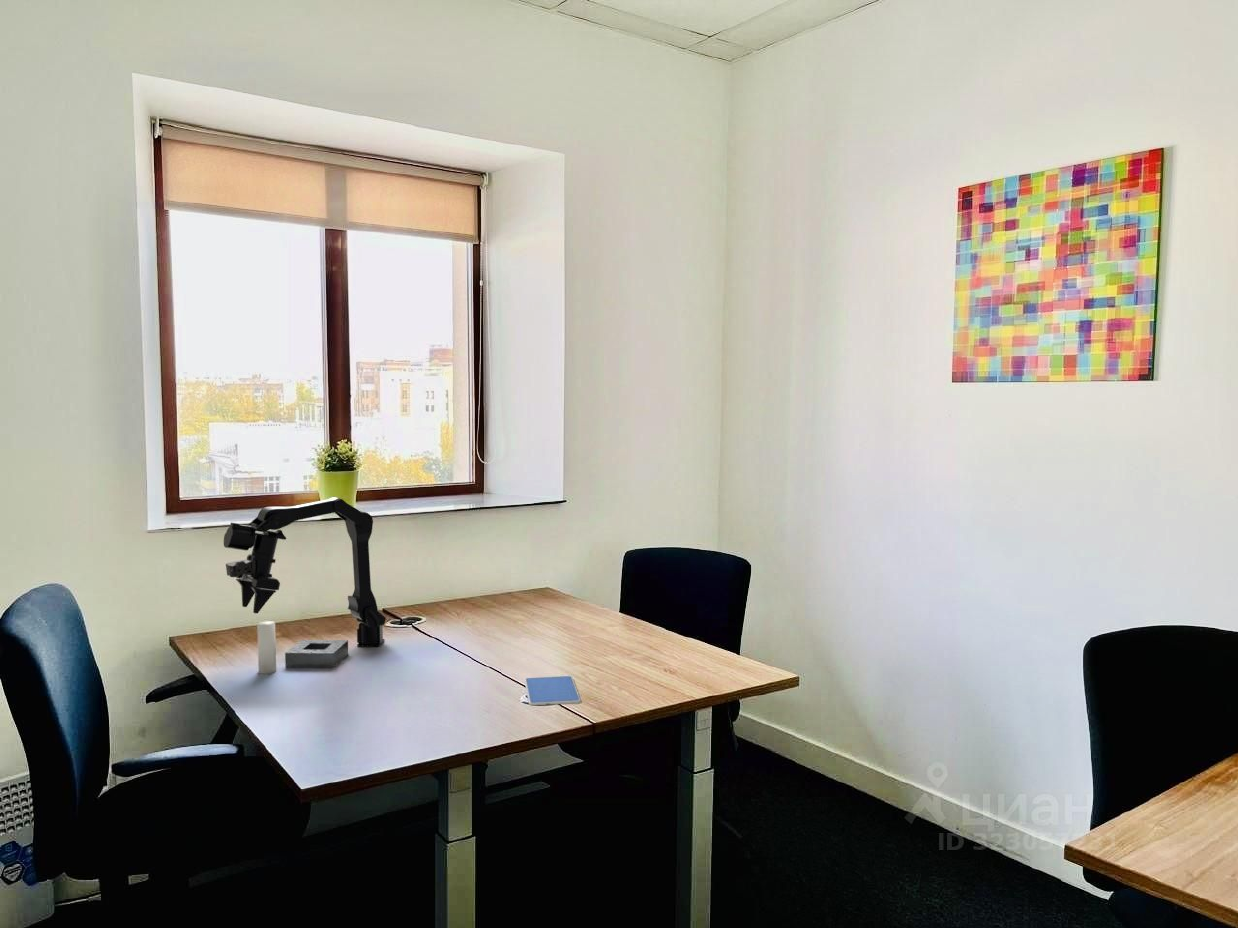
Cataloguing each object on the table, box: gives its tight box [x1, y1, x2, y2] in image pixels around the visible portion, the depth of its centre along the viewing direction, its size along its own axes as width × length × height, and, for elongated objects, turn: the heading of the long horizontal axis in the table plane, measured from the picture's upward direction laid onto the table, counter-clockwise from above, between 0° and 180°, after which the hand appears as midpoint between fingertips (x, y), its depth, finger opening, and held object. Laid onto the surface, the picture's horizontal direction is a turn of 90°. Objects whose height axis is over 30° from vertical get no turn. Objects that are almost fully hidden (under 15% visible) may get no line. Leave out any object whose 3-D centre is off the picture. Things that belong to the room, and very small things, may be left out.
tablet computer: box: [524, 675, 582, 706], centre depth 230 cm, size 19×13×1 cm, turn 9°
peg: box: [256, 620, 277, 675], centre depth 244 cm, size 4×4×13 cm
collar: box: [284, 639, 349, 669], centre depth 254 cm, size 13×13×4 cm
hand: (249, 609), depth 248 cm, fingers open, 9 cm apart
